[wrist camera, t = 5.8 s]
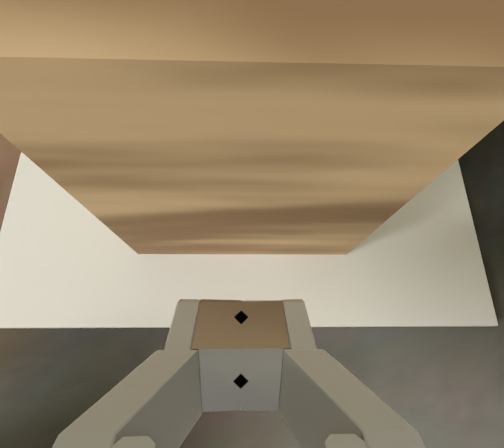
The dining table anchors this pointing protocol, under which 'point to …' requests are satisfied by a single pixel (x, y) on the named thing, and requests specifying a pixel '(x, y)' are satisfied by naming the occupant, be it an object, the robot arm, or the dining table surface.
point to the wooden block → (248, 112)
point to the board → (239, 268)
